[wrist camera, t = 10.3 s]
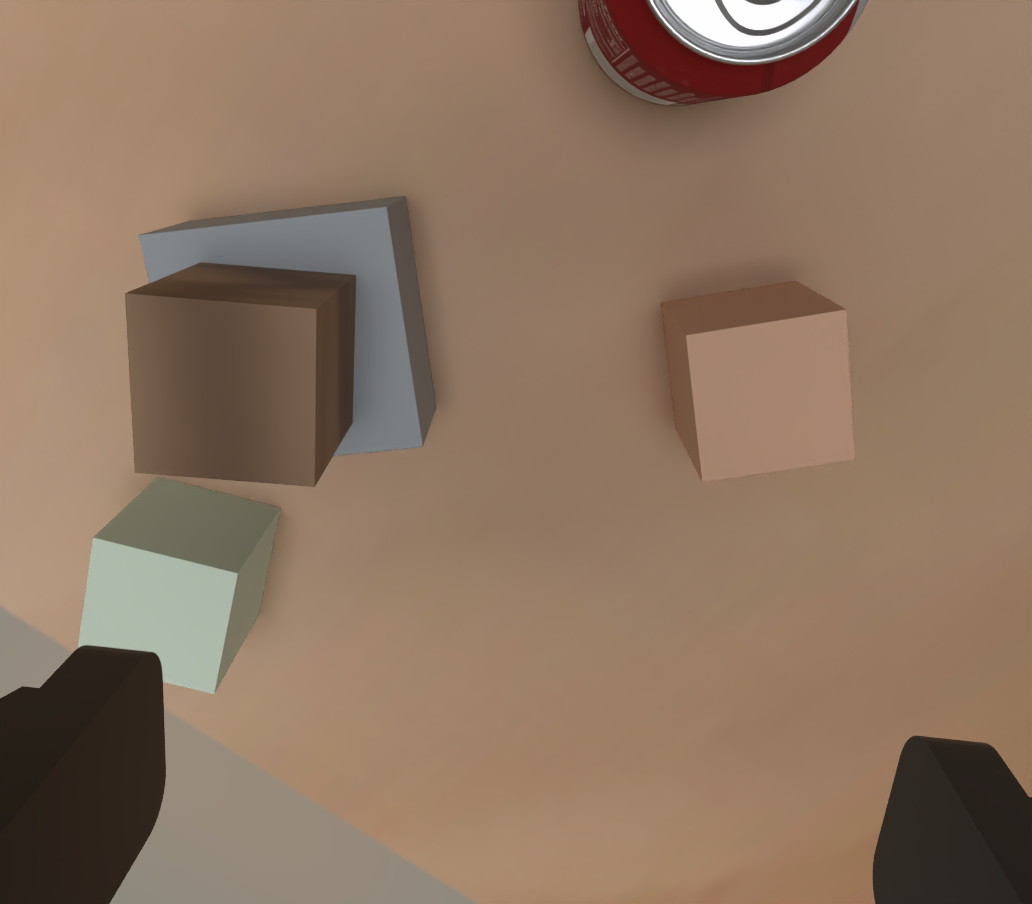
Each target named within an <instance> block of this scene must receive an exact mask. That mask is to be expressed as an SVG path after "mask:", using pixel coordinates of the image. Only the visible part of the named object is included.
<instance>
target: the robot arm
mask: <svg viewBox="0 0 1032 904" xmlns="http://www.w3.org/2000/svg"><path fill="white" fill-rule="evenodd" d="M165 777H166V763H165V734H164V703H163V674H162V666H161V661H160V659H159V657H158V655H157V654H156V653H154V652H148V651H139V650H129V649H120V648H111V647H101V646H92V645H83V646H81V647H79V648H78V649H77V650H75V651H74V652H73V653H72V654H71V656H70V657H69V658H68V659H67V660H66V661H65V662H64V663H63V664H62V665H61V666H60V667H59V668H58V669H57V670H56V671H55V672H54V674H53V675H52V676H51V677H50V678H49V679H48V680H47V681H46V682H45V683H44V684H43V685H42V686H41V687H40V688H32V687H21V688H19V689H17V690H15V691H14V692H11V693H10V694H8V695H6V696H4V697H2V698H0V904H109V903H110V901H111V900H112V898H113V897H114V895H115V893H116V891H117V890H118V888H119V886H120V885H121V883H122V881H123V880H124V878H125V876H126V875H127V873H128V871H129V870H130V868H131V866H132V864H133V863H134V861H135V859H136V858H137V856H138V854H139V853H140V851H141V849H142V847H143V846H144V844H145V842H146V841H147V839H148V837H149V835H150V834H151V832H152V830H153V827H154V825H155V822H156V819H157V817H158V814H159V811H160V807H161V803H162V799H163V794H164V787H165ZM873 890H874V898H875V903H876V904H1032V798H1031V797H1028V795H1027V794H1026V792H1025V791H1024V790H1023V788H1022V787H1021V785H1020V784H1019V782H1018V781H1017V779H1016V778H1015V777H1014V775H1013V774H1012V772H1011V771H1010V769H1009V768H1008V767H1007V765H1006V764H1005V762H1004V761H1003V759H1002V758H1001V757H1000V755H999V754H998V752H997V751H996V750H995V749H994V748H993V747H992V746H991V745H989V744H987V743H980V742H971V741H961V740H952V739H943V738H933V737H924V736H913V737H911V738H910V739H908V741H907V742H906V743H905V745H904V747H903V749H902V752H901V755H900V759H899V763H898V767H897V770H896V774H895V778H894V782H893V786H892V789H891V793H890V797H889V801H888V804H887V808H886V812H885V816H884V820H883V823H882V827H881V831H880V835H879V839H878V842H877V846H876V850H875V855H874V862H873Z"/></svg>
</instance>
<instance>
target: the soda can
mask: <svg viewBox="0 0 1032 904" xmlns="http://www.w3.org/2000/svg"><path fill="white" fill-rule="evenodd" d="M867 1H868V0H579V14H580V21H581V26H582V30H583V34H584V37H585V40H586V42H587V45H588V47H589V49H590V51H591V53H592V55H593V57H594V59H595V60H596V62H597V63H598V65H599V66H600V68H601V69H602V70H603V71H604V73H605V74H606V75H607V76H608V77H609V78H610V79H611V80H612V81H613V82H614V83H615V84H617V85H618V86H619V87H620V88H622V89H623V90H625V91H626V92H628V93H630V94H631V95H633V96H635V97H637V98H640V99H642V100H645V101H648V102H652V103H655V104H661V105H672V106H679V105H689V104H696V103H702V102H709V101H715V100H722V99H728V98H735V97H742V96H748V95H755V94H759V93H763V92H767V91H770V90H773V89H775V88H778V87H781V86H783V85H785V84H787V83H790V82H792V81H794V80H796V79H797V78H799V77H801V76H802V75H804V74H806V73H807V72H809V71H810V70H811V69H813V68H814V67H815V66H817V65H818V64H819V63H821V62H822V61H823V60H824V59H825V58H826V57H827V56H829V55H830V54H831V53H832V52H833V51H834V49H835V48H836V47H837V46H838V45H839V44H840V43H841V42H842V41H843V39H844V38H845V37H846V36H847V34H848V33H849V32H850V30H851V29H852V27H853V26H854V24H855V23H856V21H857V20H858V18H859V17H860V15H861V13H862V11H863V9H864V7H865V5H866V3H867Z"/></svg>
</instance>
